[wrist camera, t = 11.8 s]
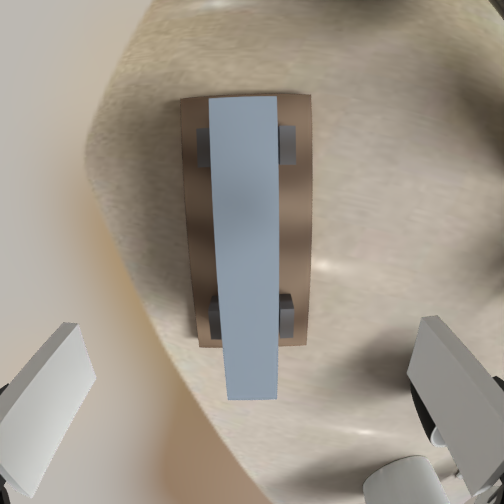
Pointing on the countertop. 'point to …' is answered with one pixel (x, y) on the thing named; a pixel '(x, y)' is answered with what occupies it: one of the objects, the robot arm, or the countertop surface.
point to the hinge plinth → (290, 216)
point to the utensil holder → (405, 483)
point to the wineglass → (484, 496)
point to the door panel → (247, 240)
